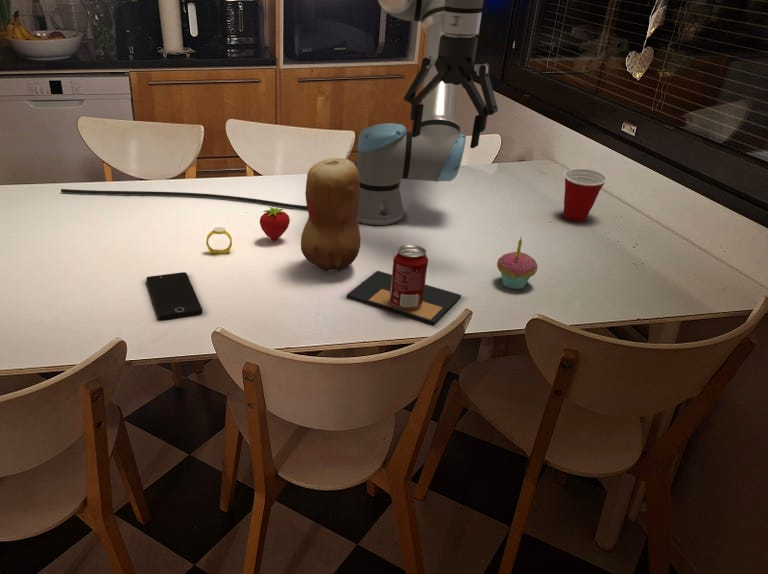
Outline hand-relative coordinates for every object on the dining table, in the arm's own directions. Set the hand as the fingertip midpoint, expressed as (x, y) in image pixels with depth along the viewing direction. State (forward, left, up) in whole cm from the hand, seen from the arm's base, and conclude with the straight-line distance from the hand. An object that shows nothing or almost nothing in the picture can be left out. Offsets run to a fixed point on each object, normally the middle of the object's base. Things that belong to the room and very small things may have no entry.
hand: (444, 141), depth 149 cm
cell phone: (-35, -52, -27) cm, 68 cm away
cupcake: (+22, -4, -27) cm, 35 cm away
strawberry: (-34, -16, -27) cm, 46 cm away
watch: (-41, -29, -27) cm, 57 cm away
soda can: (+7, -28, -26) cm, 39 cm away
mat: (+5, -24, -27) cm, 36 cm away
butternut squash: (-15, -21, -27) cm, 37 cm away
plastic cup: (+23, +44, -27) cm, 56 cm away
